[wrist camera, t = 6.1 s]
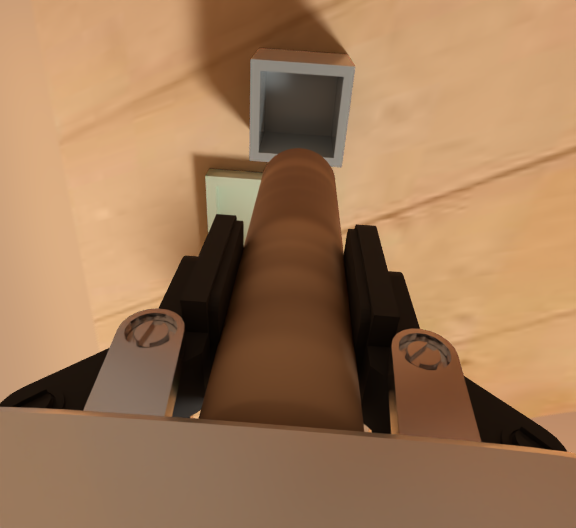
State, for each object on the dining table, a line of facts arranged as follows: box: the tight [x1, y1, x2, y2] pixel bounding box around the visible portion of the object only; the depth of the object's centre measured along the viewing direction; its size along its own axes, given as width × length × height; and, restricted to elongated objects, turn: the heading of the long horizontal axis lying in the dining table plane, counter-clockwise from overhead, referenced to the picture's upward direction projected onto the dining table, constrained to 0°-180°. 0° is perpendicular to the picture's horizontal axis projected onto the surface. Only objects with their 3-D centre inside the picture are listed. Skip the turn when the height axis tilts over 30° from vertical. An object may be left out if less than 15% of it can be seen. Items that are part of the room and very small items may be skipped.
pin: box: [199, 148, 364, 432], centre depth 12 cm, size 3×3×12 cm
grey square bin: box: [249, 48, 355, 167], centre depth 29 cm, size 6×6×6 cm
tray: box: [205, 169, 263, 244], centre depth 38 cm, size 14×10×2 cm
